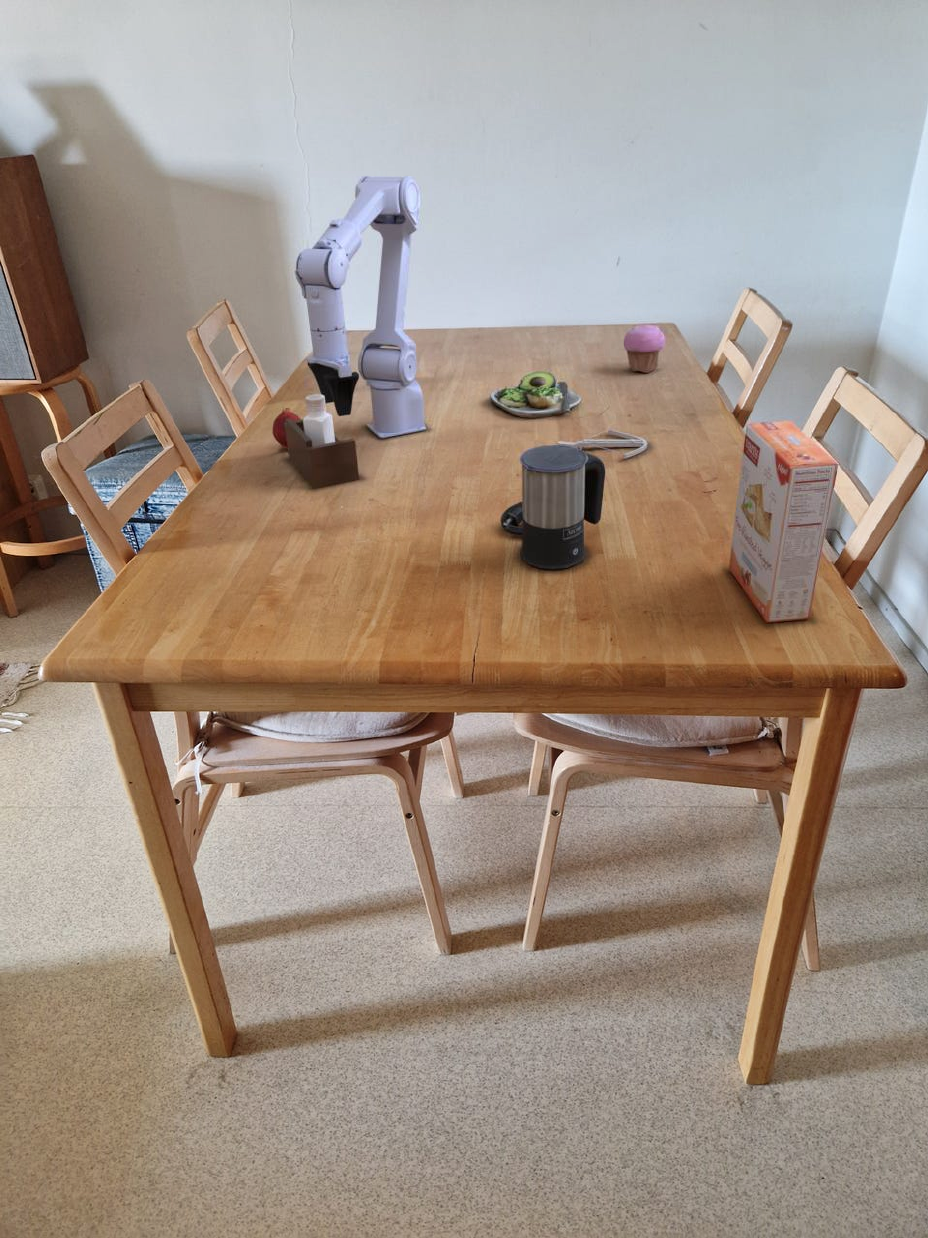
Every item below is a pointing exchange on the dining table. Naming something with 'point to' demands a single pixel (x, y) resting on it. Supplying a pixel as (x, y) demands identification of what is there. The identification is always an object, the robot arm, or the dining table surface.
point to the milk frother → (556, 504)
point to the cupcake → (644, 347)
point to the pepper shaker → (318, 421)
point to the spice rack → (321, 457)
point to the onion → (283, 426)
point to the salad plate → (536, 397)
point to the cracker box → (781, 519)
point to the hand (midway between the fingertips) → (337, 408)
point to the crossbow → (612, 443)
